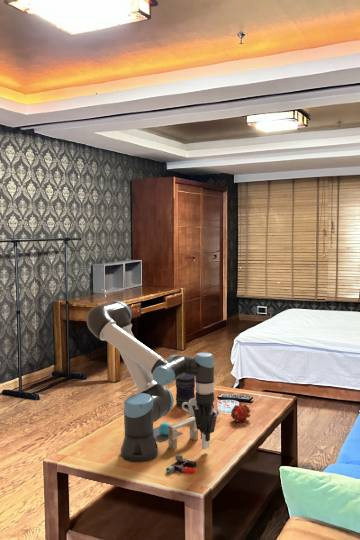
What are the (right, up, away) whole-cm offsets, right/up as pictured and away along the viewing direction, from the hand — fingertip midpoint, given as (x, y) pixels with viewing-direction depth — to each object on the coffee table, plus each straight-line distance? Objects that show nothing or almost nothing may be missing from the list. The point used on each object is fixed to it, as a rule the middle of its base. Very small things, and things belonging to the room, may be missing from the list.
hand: (205, 447), depth 219 cm
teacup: (-2, +2, +39) cm, 39 cm away
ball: (-17, +2, +18) cm, 25 cm away
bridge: (-9, -1, +10) cm, 13 cm away
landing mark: (-18, 0, +20) cm, 27 cm away
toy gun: (-9, -4, -15) cm, 18 cm away
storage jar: (-8, +3, +56) cm, 57 cm away
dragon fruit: (+18, +1, +33) cm, 38 cm away
